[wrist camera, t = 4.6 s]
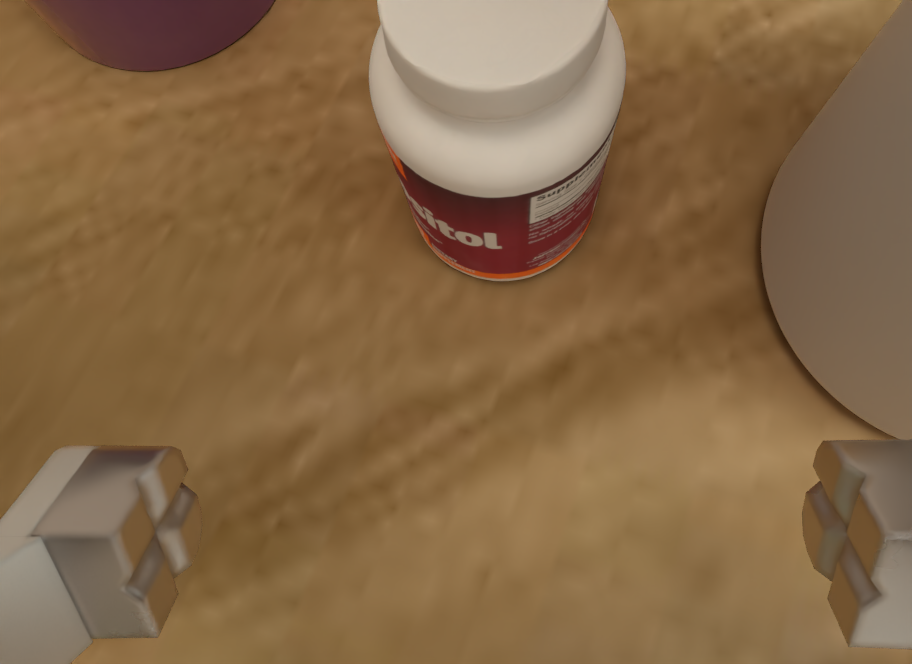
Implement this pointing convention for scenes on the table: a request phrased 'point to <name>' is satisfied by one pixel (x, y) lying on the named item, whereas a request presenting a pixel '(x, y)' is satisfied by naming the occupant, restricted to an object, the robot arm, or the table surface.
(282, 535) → the table surface
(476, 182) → the pill bottle
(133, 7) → the jar
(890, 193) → the cylinder vase
